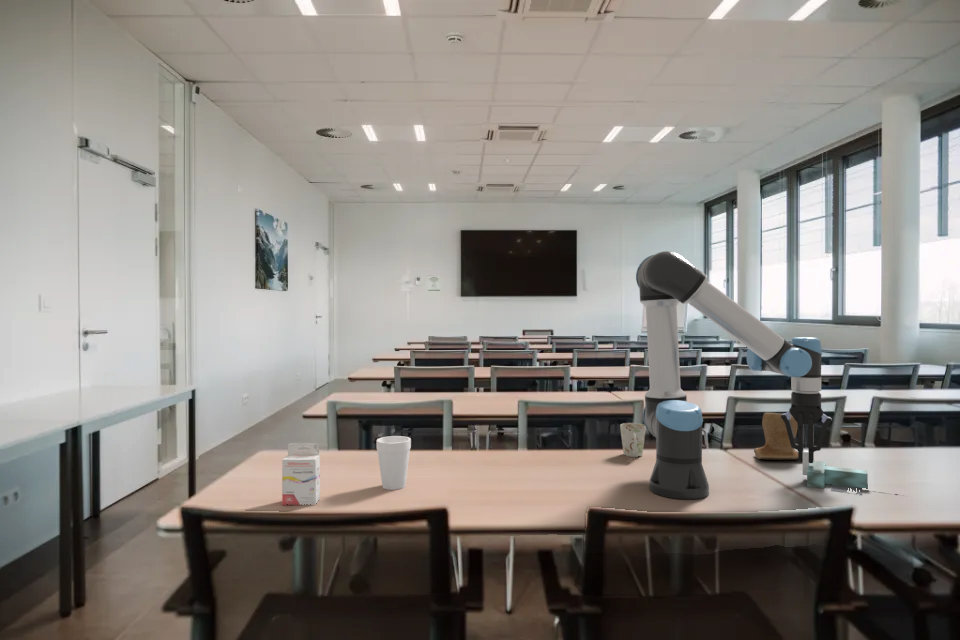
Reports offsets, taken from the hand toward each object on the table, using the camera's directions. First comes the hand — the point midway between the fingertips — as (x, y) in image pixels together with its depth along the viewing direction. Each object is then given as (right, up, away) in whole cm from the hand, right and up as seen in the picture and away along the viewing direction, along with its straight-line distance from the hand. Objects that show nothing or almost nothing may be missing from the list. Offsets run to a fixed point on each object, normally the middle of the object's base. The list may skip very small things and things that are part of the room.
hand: (805, 473), depth 170 cm
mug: (-42, -2, +27) cm, 50 cm away
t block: (+6, -2, -4) cm, 8 cm away
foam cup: (-117, -2, -5) cm, 117 cm away
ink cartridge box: (-139, -3, -18) cm, 140 cm away
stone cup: (+3, -1, +24) cm, 24 cm away
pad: (+13, -2, -8) cm, 15 cm away
